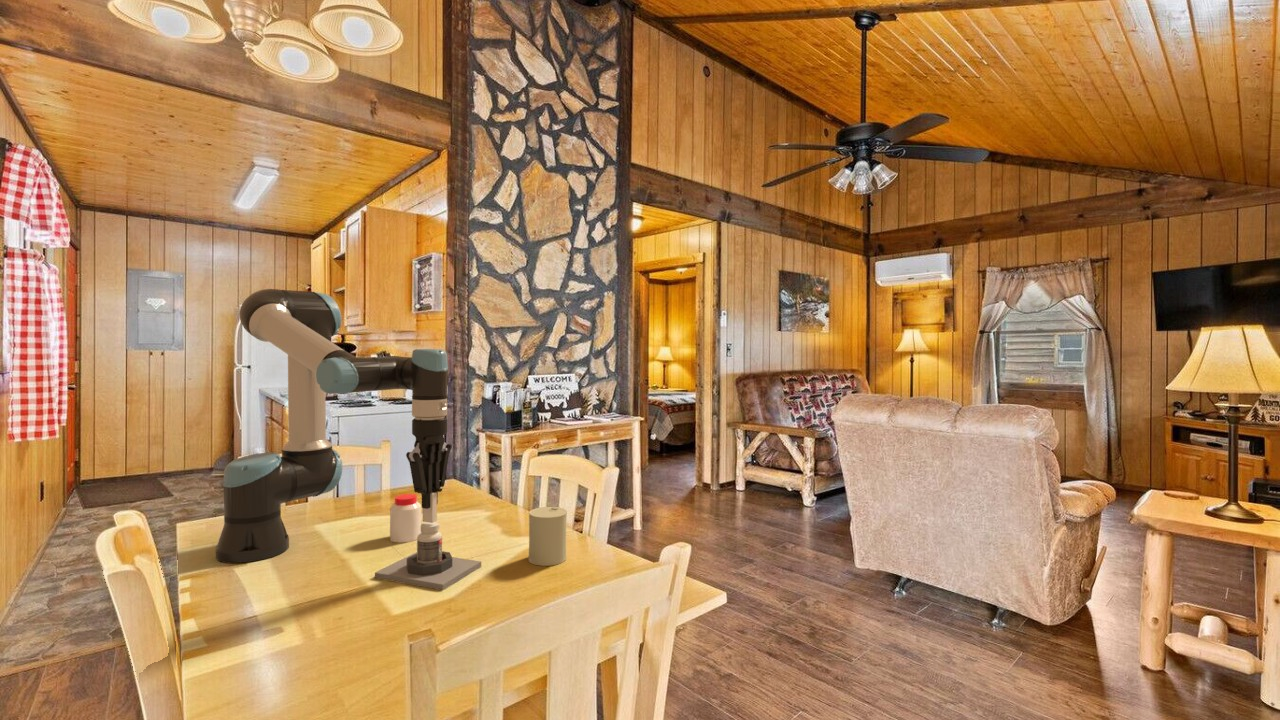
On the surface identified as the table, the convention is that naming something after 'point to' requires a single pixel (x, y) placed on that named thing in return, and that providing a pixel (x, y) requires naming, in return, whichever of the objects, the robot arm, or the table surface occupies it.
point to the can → (547, 536)
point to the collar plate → (429, 579)
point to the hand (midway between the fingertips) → (429, 521)
